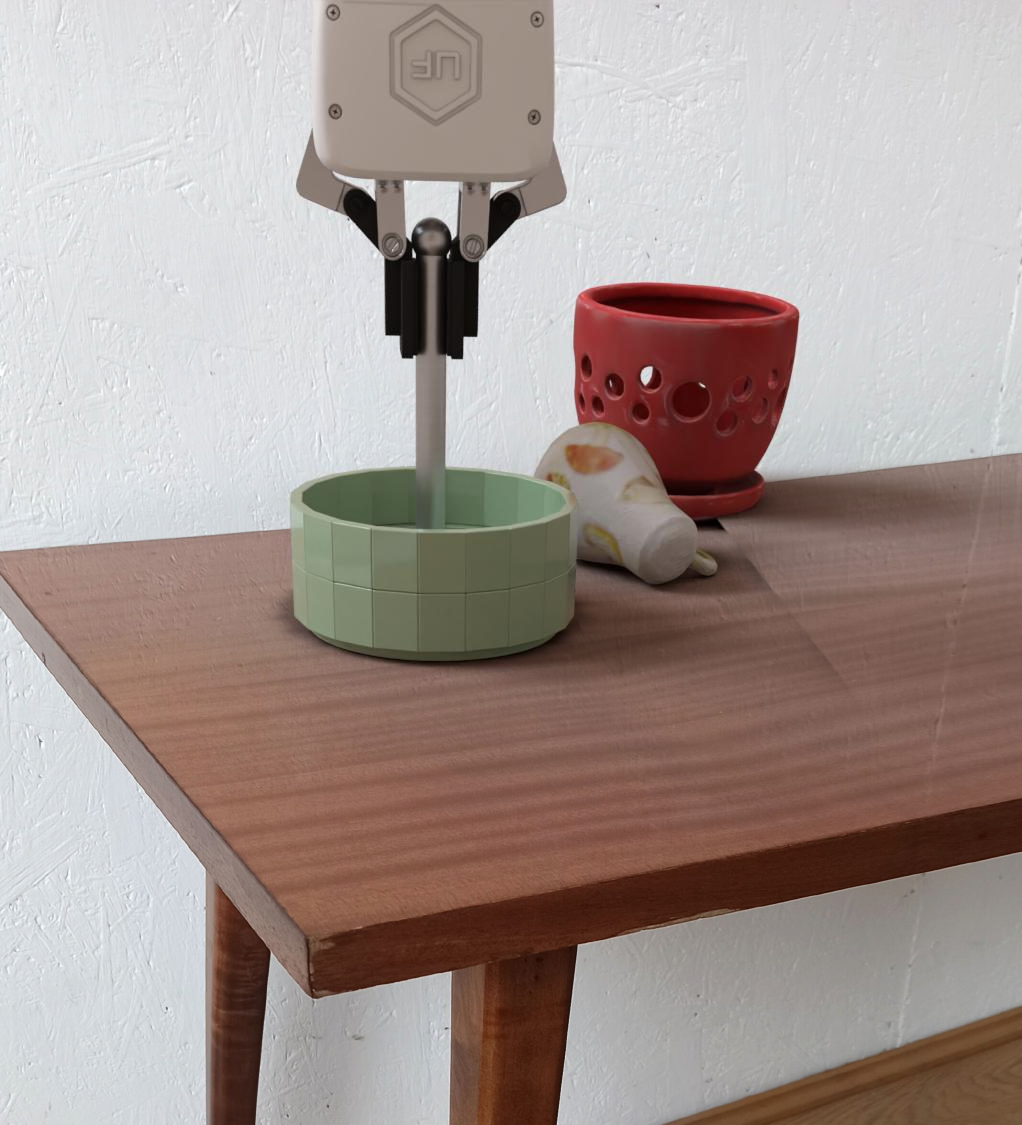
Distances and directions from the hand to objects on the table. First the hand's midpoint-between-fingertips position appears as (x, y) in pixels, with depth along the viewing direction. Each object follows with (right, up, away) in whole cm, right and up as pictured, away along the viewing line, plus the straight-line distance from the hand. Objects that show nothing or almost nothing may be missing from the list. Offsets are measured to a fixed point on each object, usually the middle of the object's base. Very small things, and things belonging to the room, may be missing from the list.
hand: (431, 351), depth 80 cm
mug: (+10, -5, +16) cm, 20 cm away
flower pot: (+14, +2, +28) cm, 32 cm away
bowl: (0, -11, +6) cm, 12 cm away
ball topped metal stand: (0, -9, +5) cm, 10 cm away
